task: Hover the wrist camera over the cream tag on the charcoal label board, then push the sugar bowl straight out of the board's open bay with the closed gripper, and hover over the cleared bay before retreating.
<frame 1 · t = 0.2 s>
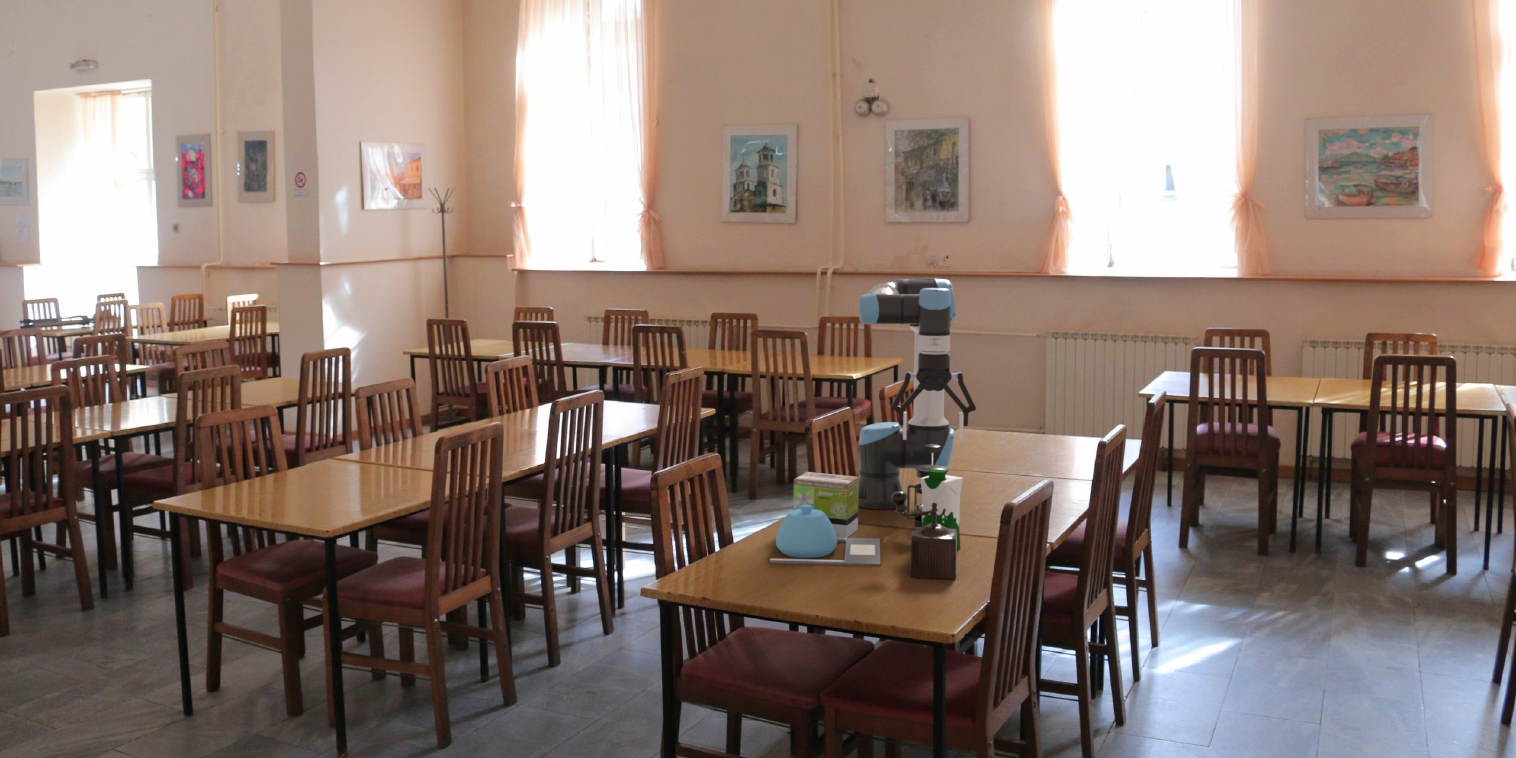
hand: (932, 439, 283), 28 cm above the table, fingers open, 13 cm apart
label board: (830, 551, 285), on the table
brown manual coffee grinder: (922, 572, 268), on the table
french press: (929, 531, 304), on the table
milk carton: (940, 549, 287), on the table
sugar bowl: (806, 552, 286), on the table
tea box: (825, 532, 304), on the table
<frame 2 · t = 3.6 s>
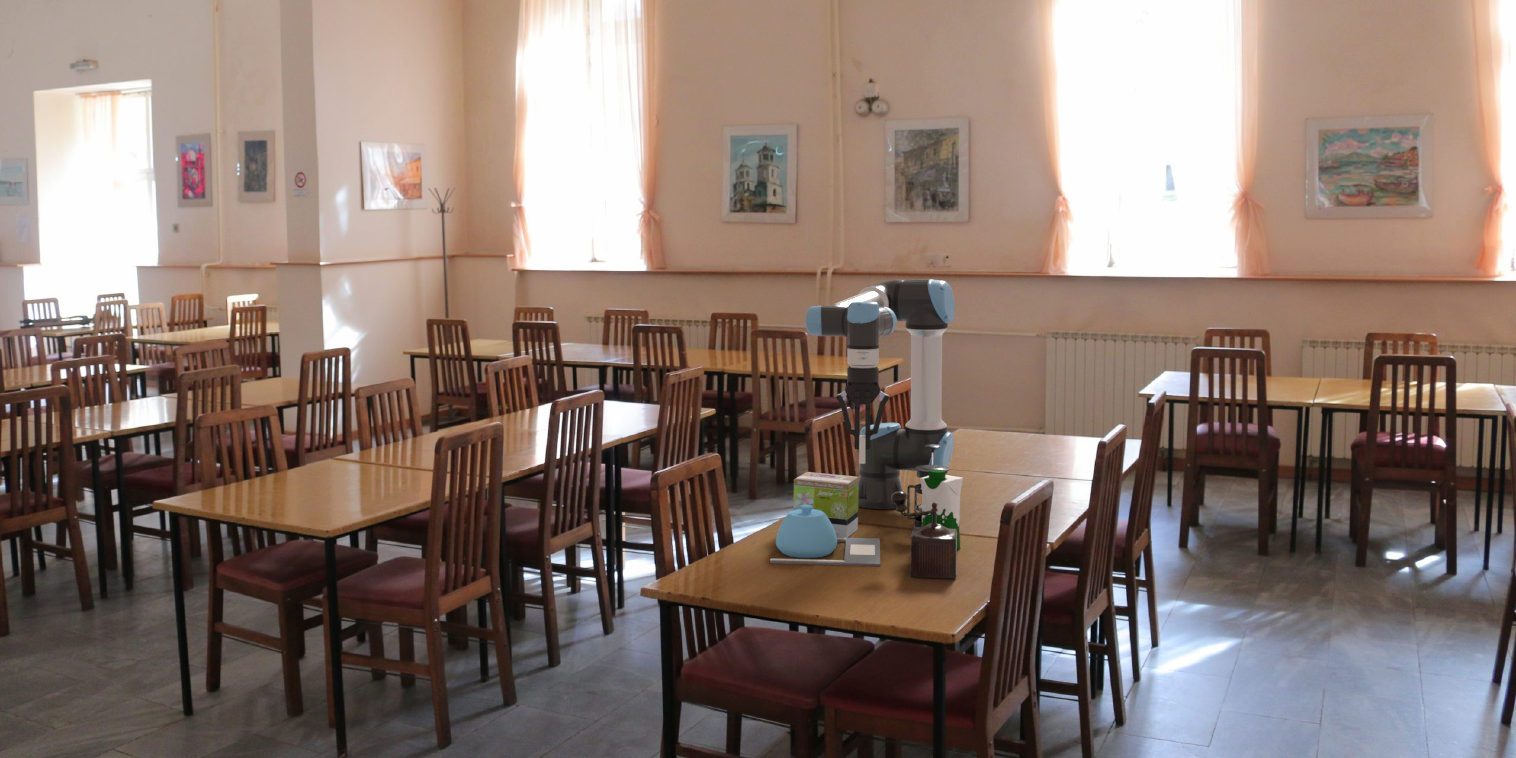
hand: (862, 462, 282), 22 cm above the table, fingers closed
nothing on the table moved.
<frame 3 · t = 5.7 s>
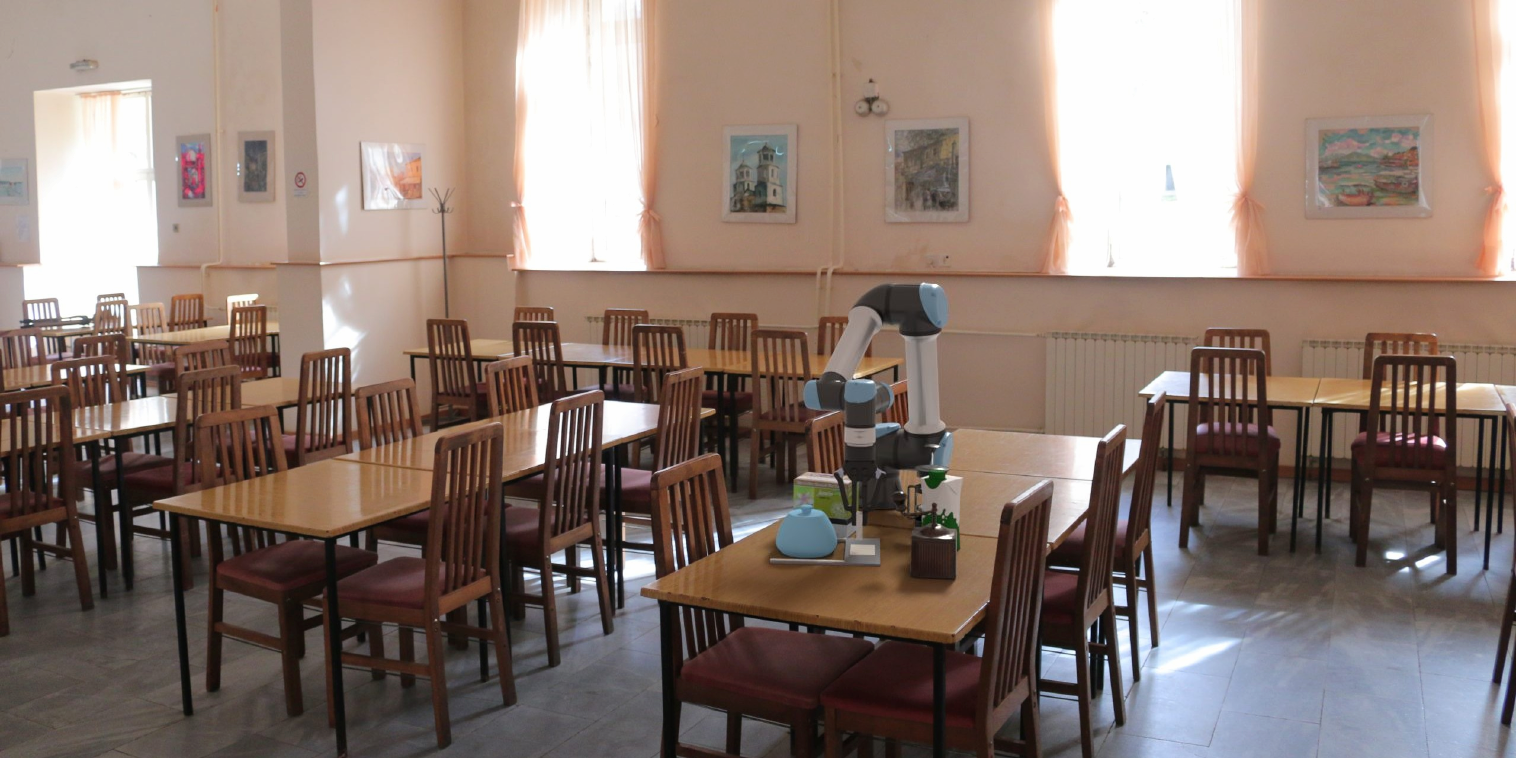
hand: (859, 538, 284), 3 cm above the table, fingers closed
nothing on the table moved.
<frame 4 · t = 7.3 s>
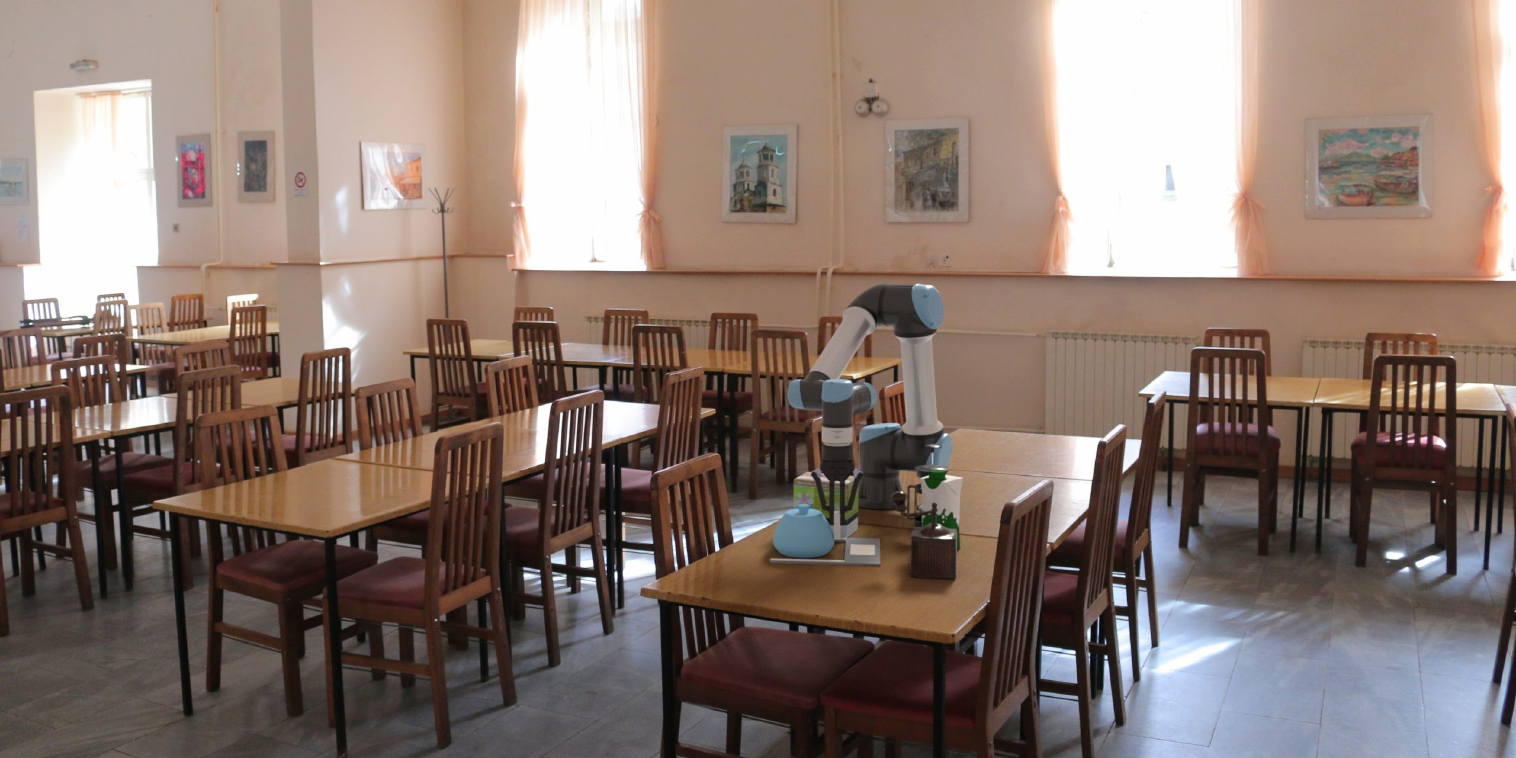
hand: (837, 538, 285), 3 cm above the table, fingers closed
sugar bowl: (803, 551, 286), on the table, touching gripper
everything else where it was.
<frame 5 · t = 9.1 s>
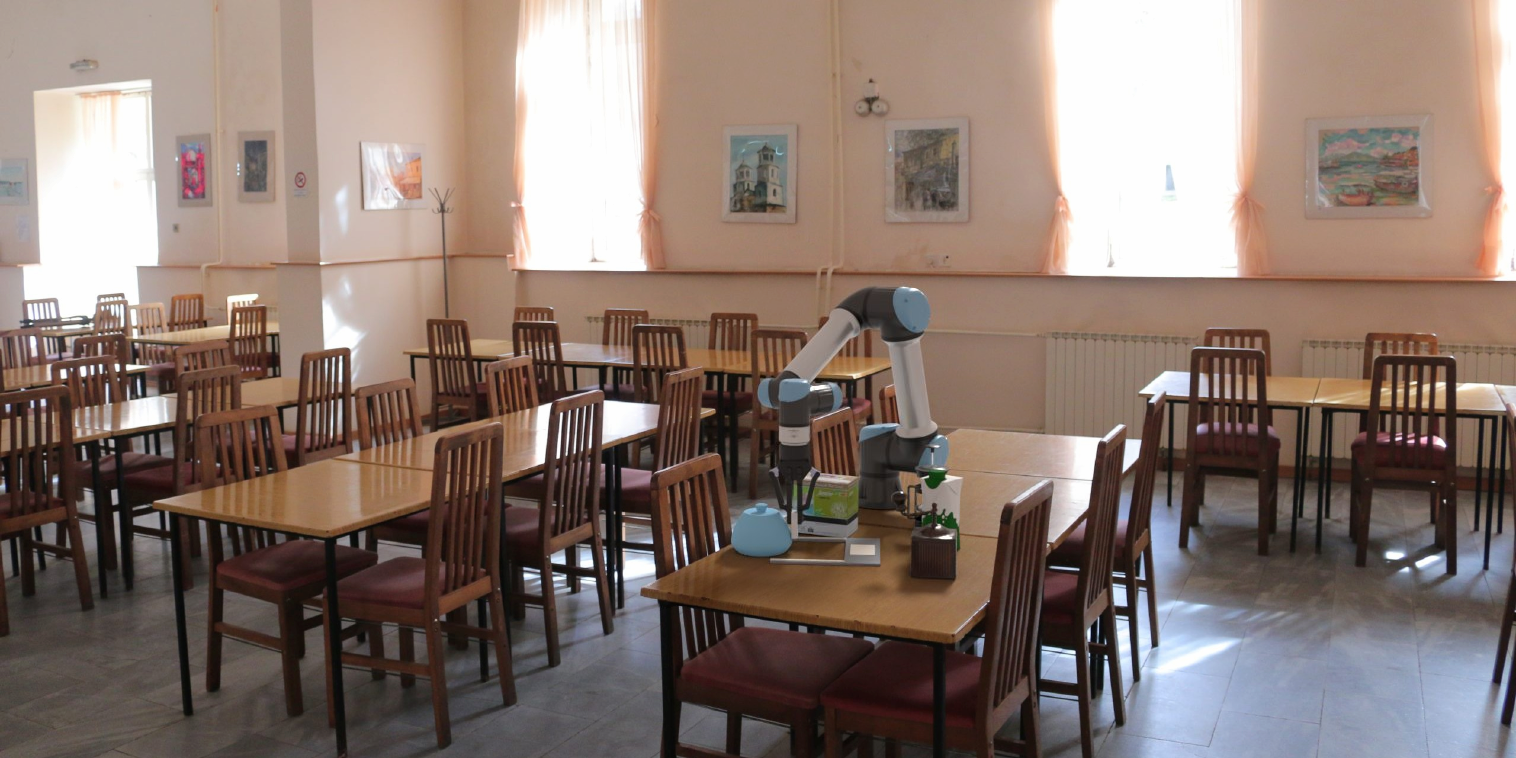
hand: (794, 537, 286), 3 cm above the table, fingers closed
sugar bowl: (761, 550, 287), on the table, touching gripper
everything else where it was.
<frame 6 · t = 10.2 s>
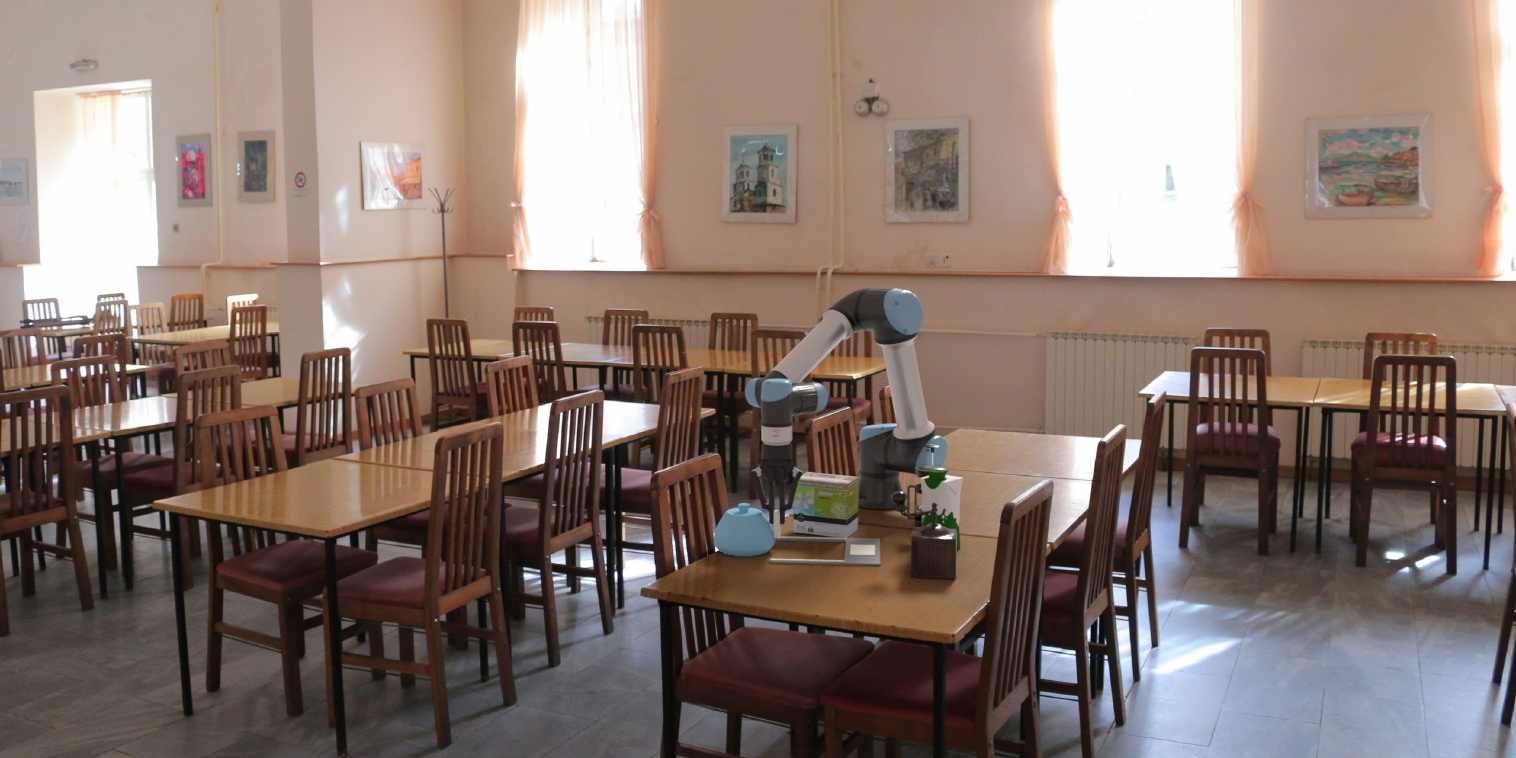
hand: (777, 536, 286), 3 cm above the table, fingers closed
sugar bowl: (744, 550, 287), on the table
everything else where it was.
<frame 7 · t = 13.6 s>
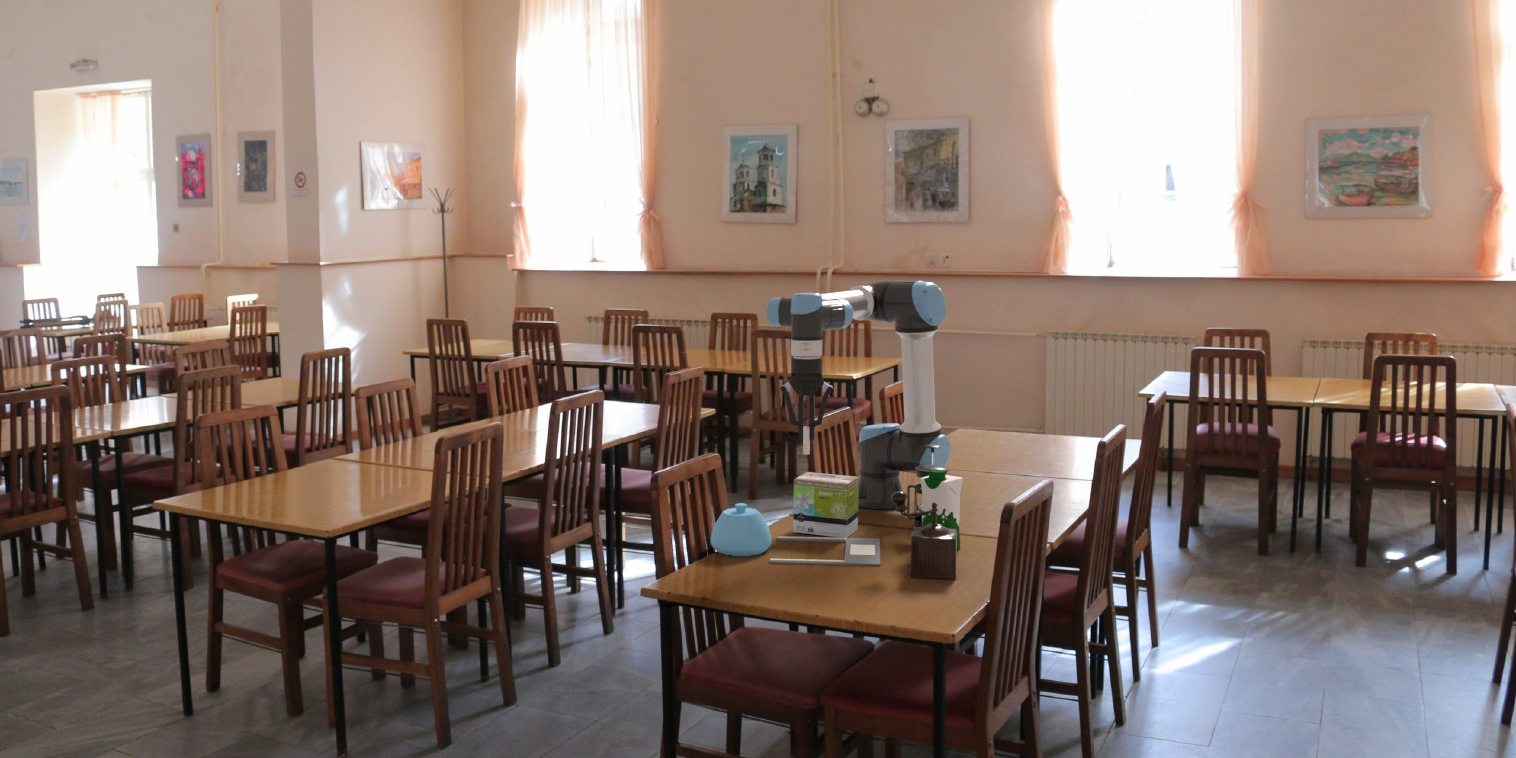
hand: (806, 453, 283), 24 cm above the table, fingers closed
nothing on the table moved.
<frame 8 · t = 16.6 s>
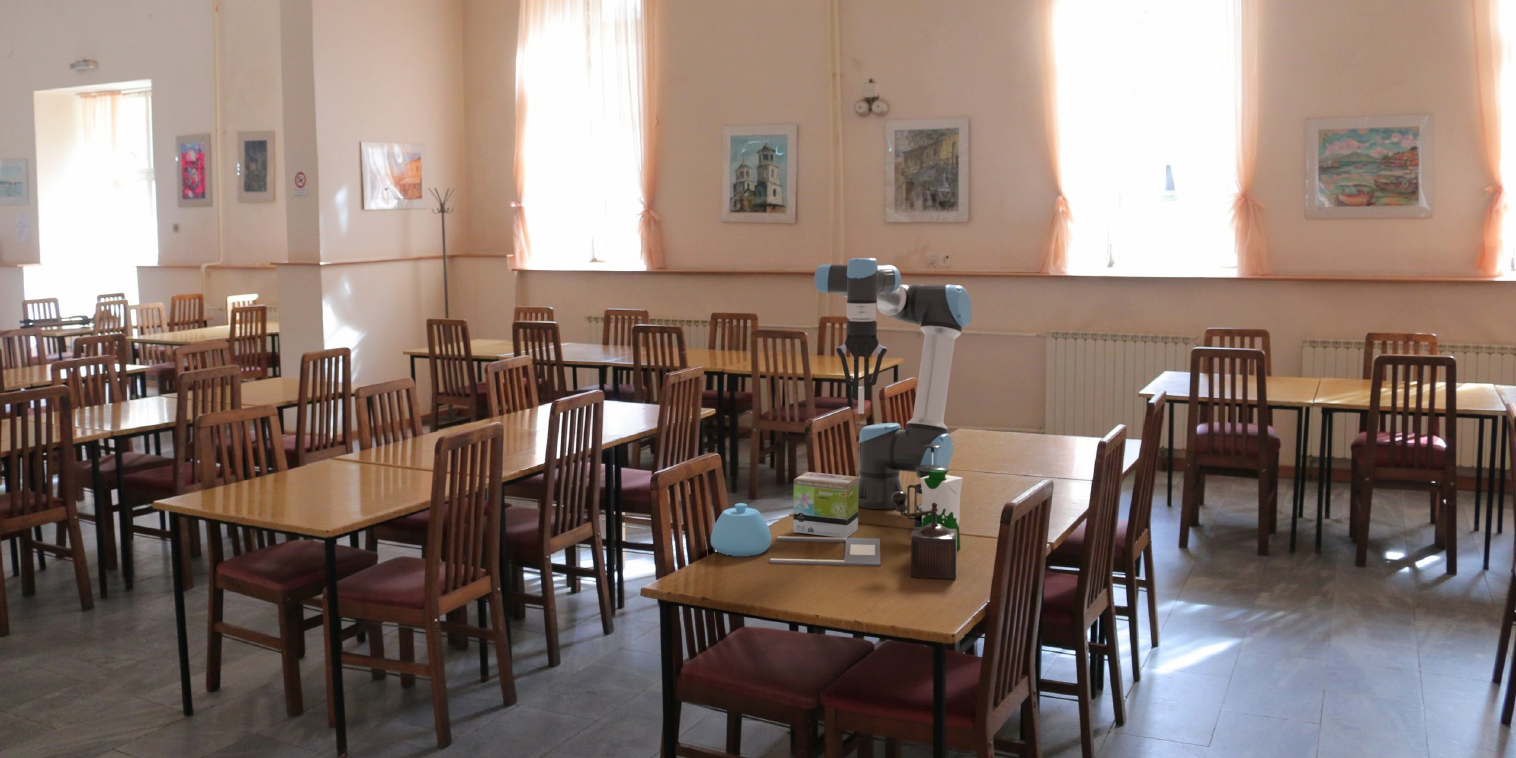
hand: (861, 412, 294), 32 cm above the table, fingers closed
nothing on the table moved.
at the end: sugar bowl inside the target area (4.3 cm from its centre), on the table; sugar bowl tilted 0° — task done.
